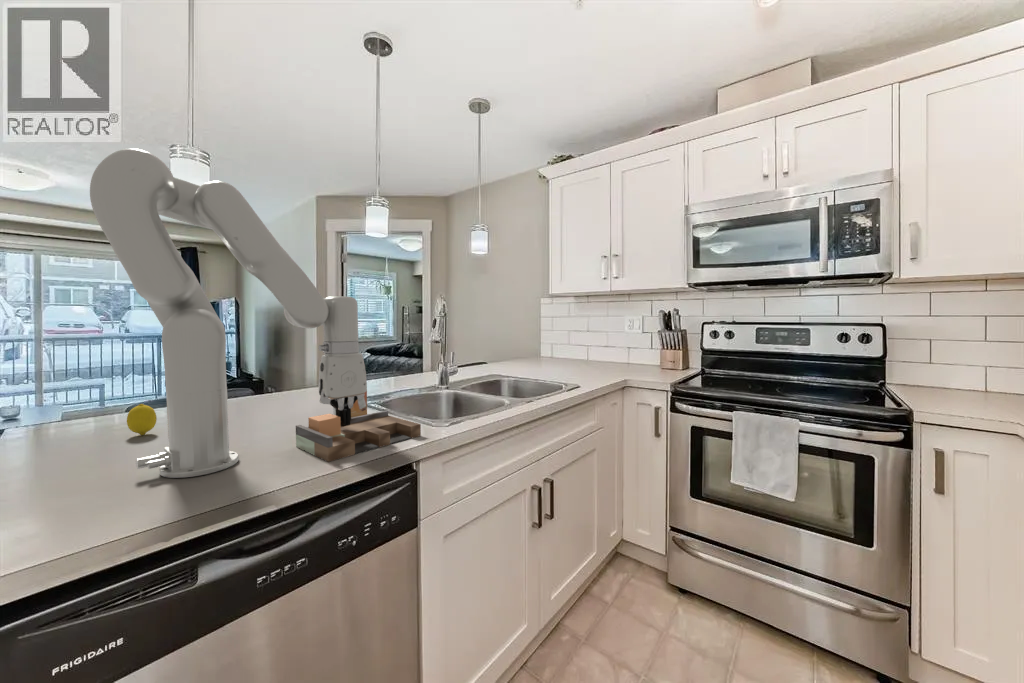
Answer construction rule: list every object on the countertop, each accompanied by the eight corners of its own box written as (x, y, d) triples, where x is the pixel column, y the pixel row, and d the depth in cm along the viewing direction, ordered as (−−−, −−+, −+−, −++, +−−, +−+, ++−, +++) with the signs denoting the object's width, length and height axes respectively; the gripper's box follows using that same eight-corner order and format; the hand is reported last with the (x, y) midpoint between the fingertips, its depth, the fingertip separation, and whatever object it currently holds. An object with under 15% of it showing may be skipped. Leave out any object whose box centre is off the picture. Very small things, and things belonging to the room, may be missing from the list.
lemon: (143, 438, 99) (141, 406, 99) (121, 438, 99) (119, 406, 99) (163, 432, 105) (161, 401, 104) (142, 431, 105) (140, 401, 104)
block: (319, 438, 90) (318, 421, 90) (308, 434, 93) (308, 417, 93) (340, 433, 94) (340, 416, 94) (330, 430, 97) (329, 413, 97)
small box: (343, 421, 116) (342, 385, 116) (332, 418, 120) (332, 383, 119) (368, 416, 123) (367, 381, 122) (357, 413, 126) (356, 379, 125)
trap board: (328, 461, 84) (327, 438, 84) (296, 446, 94) (295, 425, 93) (420, 435, 103) (420, 416, 103) (386, 425, 112) (386, 407, 112)
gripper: (317, 352, 88) (320, 435, 89) (378, 347, 99) (380, 421, 101) (301, 350, 92) (304, 429, 94) (361, 346, 104) (363, 416, 105)
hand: (343, 424), depth 97 cm, fingers closed
